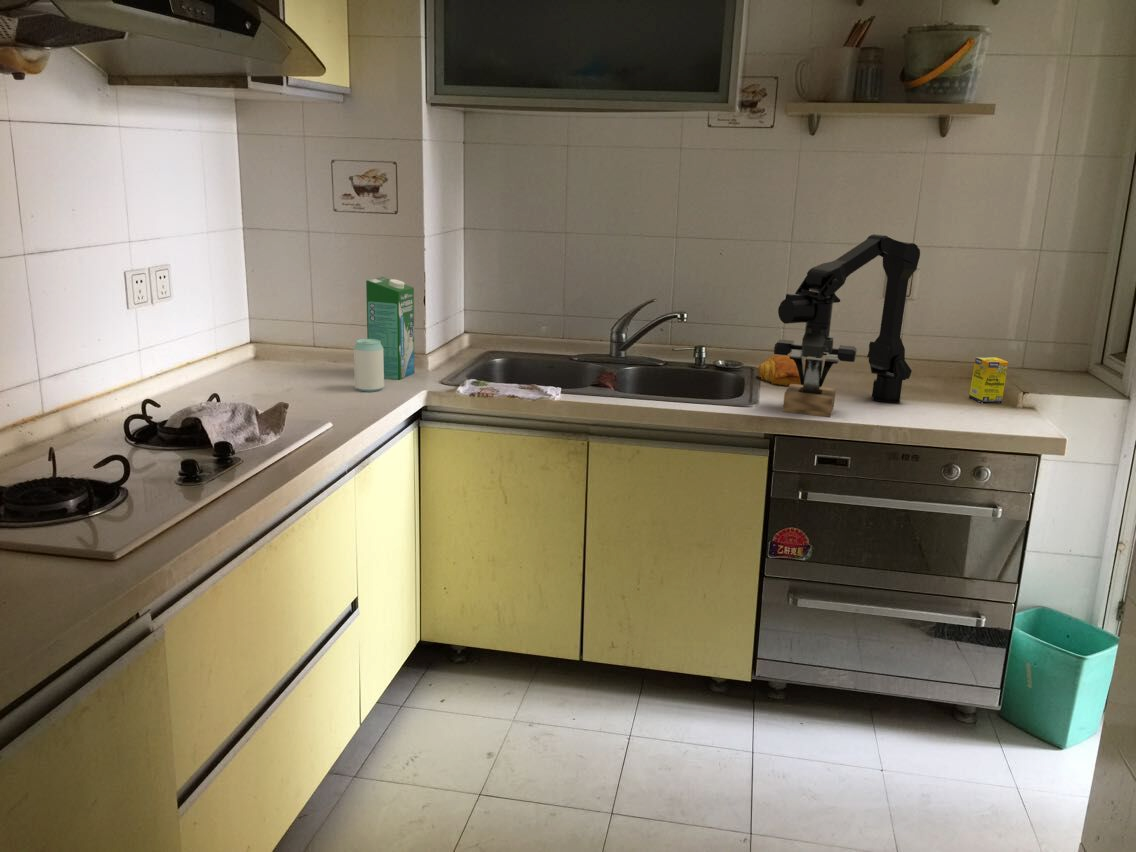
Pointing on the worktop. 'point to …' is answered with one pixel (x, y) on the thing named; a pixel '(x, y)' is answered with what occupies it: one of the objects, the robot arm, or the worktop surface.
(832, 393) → the bore block
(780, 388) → the worktop surface
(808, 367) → the pin
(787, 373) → the croissant
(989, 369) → the supplement box
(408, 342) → the milk carton
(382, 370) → the can
